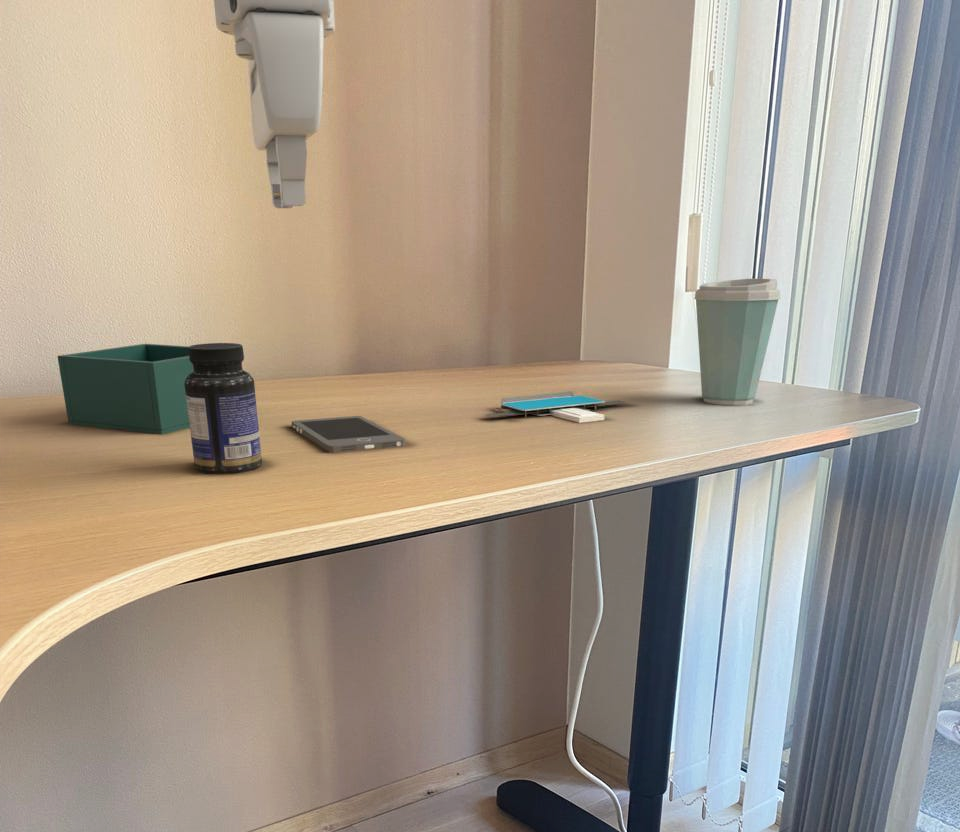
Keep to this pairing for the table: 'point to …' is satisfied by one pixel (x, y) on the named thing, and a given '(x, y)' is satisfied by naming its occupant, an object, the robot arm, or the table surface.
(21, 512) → the table surface
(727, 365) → the disposable coffee cup
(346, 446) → the smartphone
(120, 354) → the open box
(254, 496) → the table surface
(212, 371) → the pill bottle
